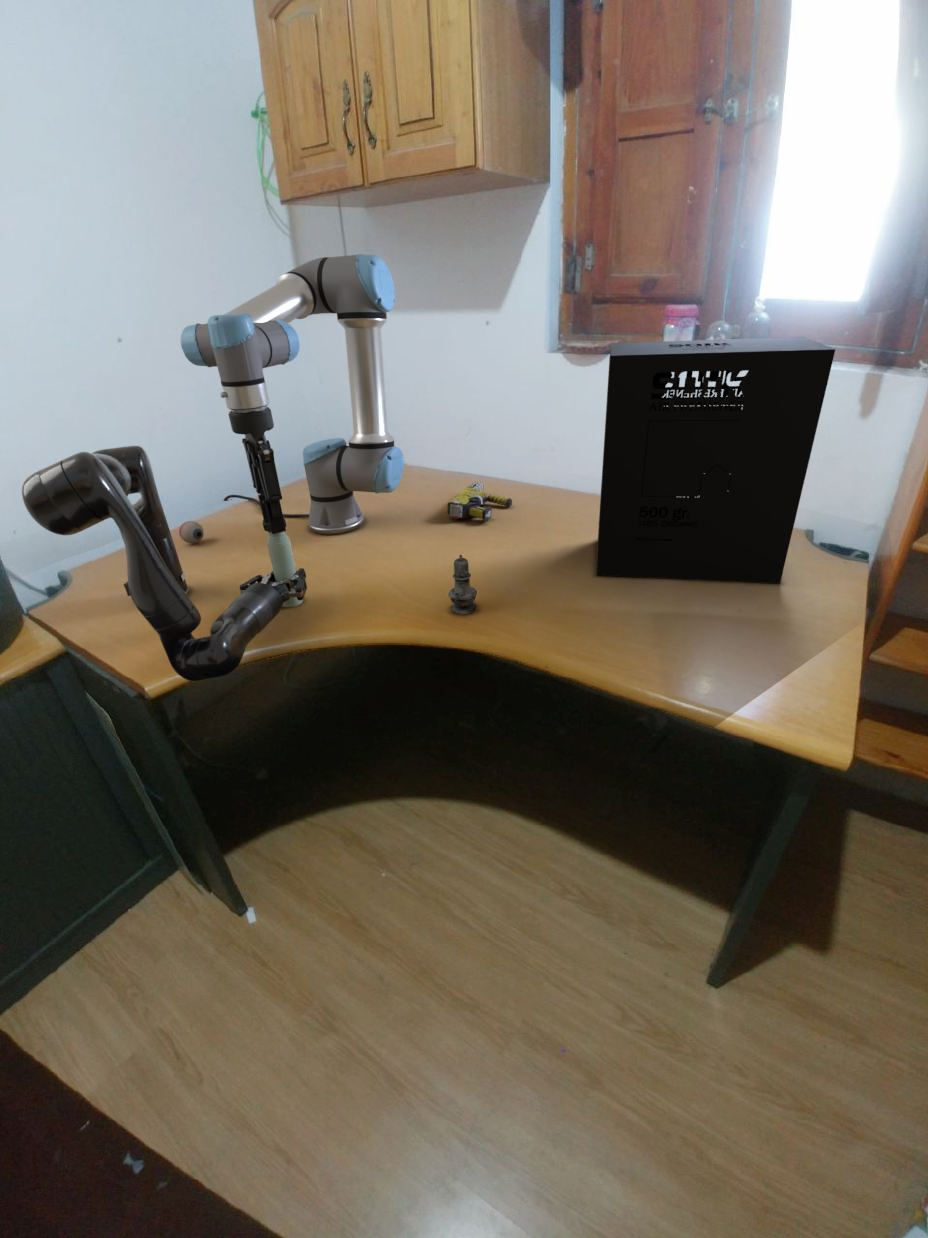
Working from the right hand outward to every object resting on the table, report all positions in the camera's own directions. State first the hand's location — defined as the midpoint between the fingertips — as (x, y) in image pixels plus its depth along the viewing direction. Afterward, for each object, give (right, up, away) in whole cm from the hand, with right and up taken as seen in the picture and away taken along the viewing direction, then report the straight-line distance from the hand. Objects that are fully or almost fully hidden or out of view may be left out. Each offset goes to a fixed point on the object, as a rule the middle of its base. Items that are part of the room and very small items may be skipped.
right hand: (275, 528), depth 122 cm
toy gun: (+44, +14, +53) cm, 70 cm away
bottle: (+1, -15, +9) cm, 17 cm away
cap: (0, +1, -1) cm, 2 cm away
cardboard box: (+88, -5, +17) cm, 90 cm away
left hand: (+1, -8, +8) cm, 11 cm away
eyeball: (-35, +2, +41) cm, 54 cm away
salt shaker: (+38, -16, +2) cm, 42 cm away
